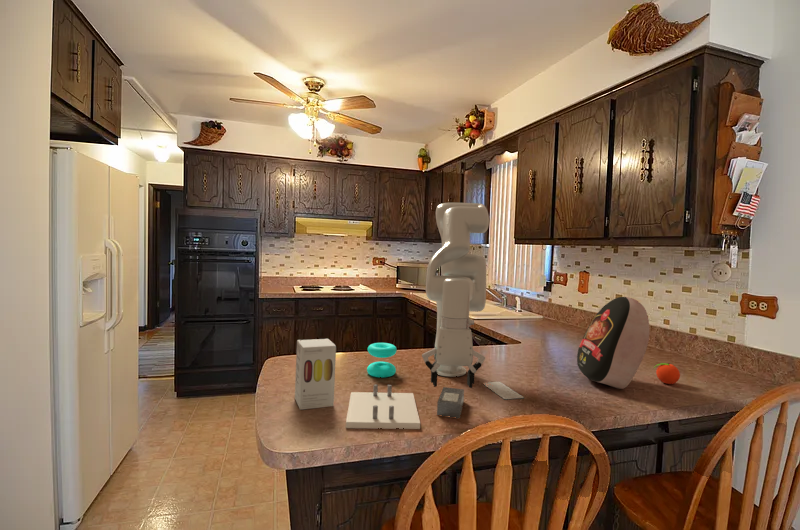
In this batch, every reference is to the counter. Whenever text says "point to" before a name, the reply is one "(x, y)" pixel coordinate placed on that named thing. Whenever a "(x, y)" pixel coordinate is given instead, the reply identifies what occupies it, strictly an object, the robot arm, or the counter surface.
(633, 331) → the packaged food
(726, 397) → the counter surface
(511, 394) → the smartphone
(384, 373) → the donuts
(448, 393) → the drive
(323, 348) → the supplement box
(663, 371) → the clementine
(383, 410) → the white peg board
